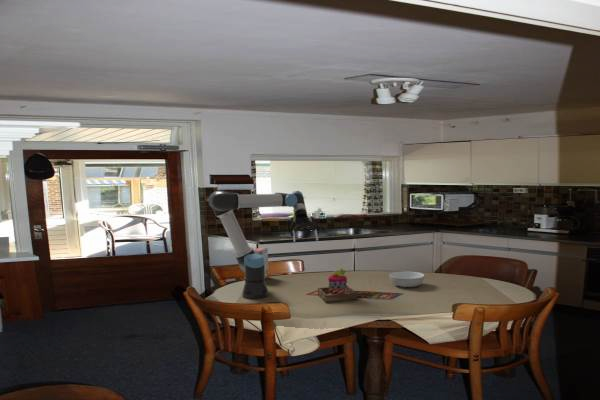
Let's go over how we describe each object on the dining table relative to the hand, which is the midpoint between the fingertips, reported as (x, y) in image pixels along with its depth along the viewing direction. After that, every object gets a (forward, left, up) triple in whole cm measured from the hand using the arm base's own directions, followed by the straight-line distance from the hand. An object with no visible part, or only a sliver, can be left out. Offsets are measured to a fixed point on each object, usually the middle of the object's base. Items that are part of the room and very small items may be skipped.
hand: (306, 240), depth 271 cm
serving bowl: (+2, +62, -32) cm, 70 cm away
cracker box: (-44, -22, -32) cm, 59 cm away
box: (+15, +14, -31) cm, 37 cm away
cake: (+16, +14, -31) cm, 37 cm away
